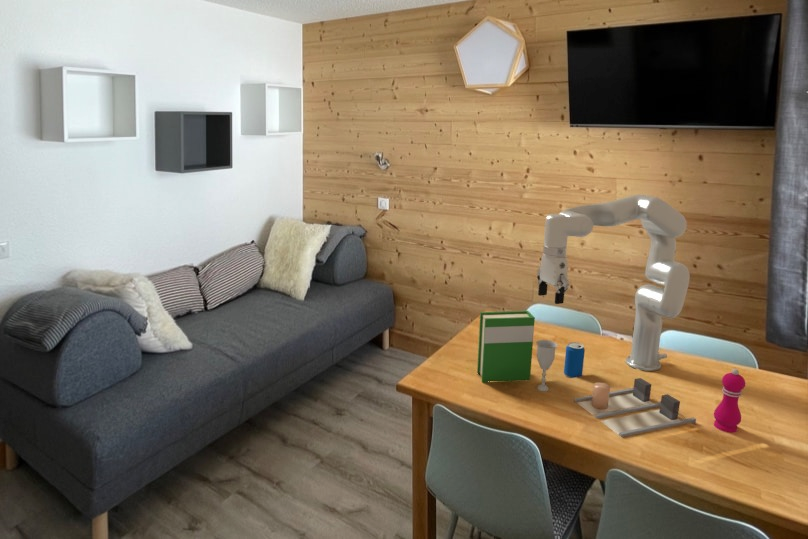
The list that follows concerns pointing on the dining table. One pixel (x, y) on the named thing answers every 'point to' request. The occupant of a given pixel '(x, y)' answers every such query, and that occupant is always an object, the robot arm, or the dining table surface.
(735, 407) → the pepper mill
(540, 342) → the chalice
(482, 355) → the hardback book
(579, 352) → the beverage can
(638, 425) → the strip
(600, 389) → the light brown rounded piece
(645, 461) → the dining table surface
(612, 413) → the track board
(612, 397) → the strip
